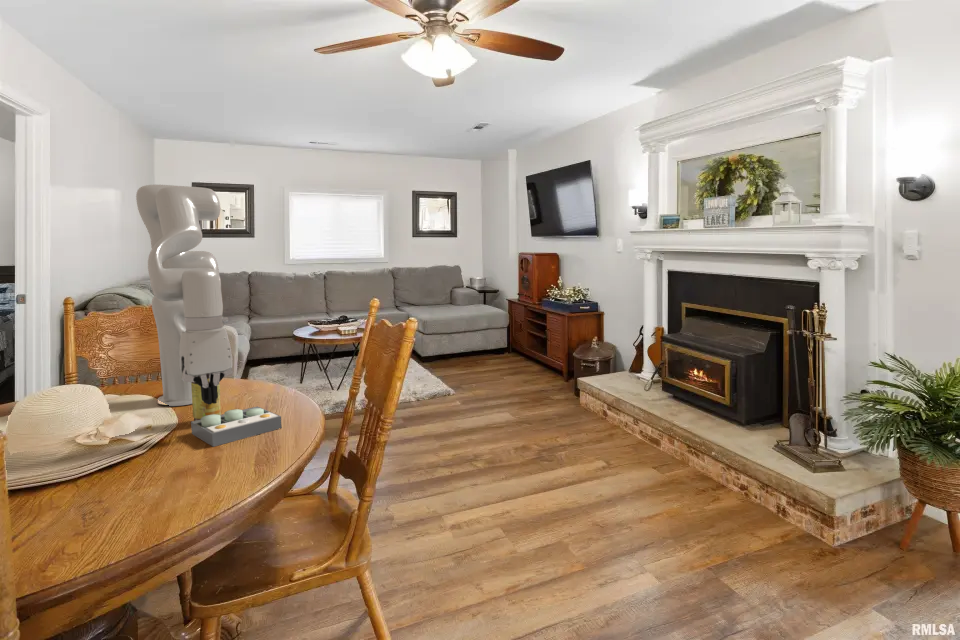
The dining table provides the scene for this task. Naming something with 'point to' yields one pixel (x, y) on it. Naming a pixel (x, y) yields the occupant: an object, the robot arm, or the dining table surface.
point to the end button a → (210, 420)
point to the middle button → (233, 415)
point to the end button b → (254, 412)
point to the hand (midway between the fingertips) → (210, 402)
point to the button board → (236, 428)
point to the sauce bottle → (199, 406)
